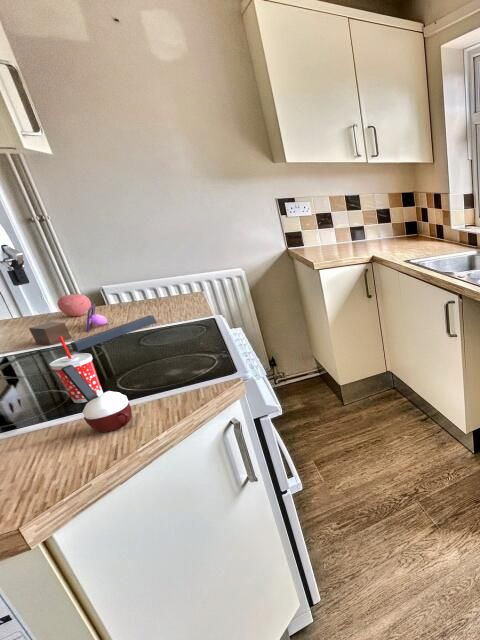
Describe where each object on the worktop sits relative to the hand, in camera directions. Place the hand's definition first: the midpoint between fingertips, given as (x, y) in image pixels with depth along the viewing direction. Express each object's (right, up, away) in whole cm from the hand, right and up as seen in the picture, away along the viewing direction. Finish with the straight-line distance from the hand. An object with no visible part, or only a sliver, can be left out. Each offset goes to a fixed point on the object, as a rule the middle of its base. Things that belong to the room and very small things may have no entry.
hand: (7, 283), depth 113 cm
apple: (-7, -7, +26) cm, 28 cm away
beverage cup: (+47, -28, -25) cm, 60 cm away
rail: (+22, -14, +8) cm, 28 cm away
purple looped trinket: (+10, -11, +16) cm, 21 cm away
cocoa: (+61, -31, -35) cm, 77 cm away
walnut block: (+8, -16, +5) cm, 18 cm away
